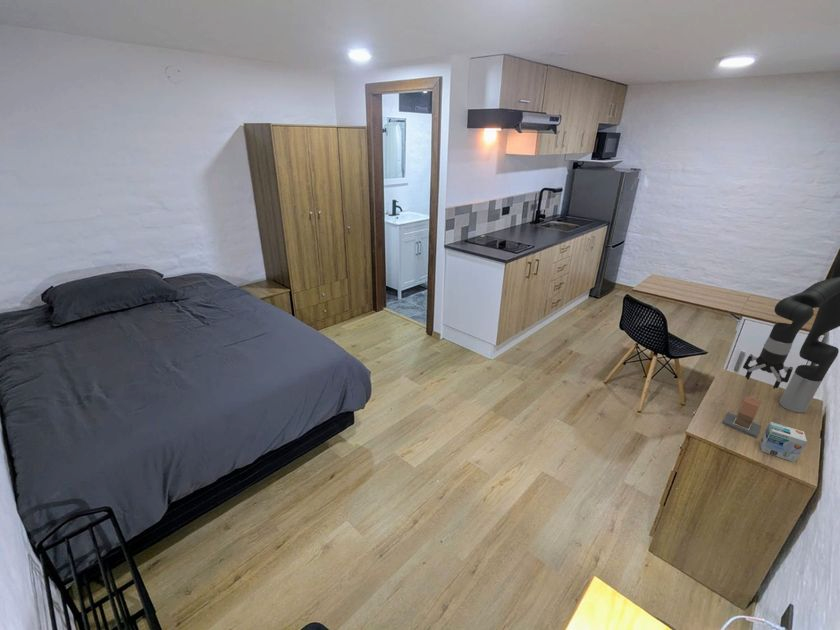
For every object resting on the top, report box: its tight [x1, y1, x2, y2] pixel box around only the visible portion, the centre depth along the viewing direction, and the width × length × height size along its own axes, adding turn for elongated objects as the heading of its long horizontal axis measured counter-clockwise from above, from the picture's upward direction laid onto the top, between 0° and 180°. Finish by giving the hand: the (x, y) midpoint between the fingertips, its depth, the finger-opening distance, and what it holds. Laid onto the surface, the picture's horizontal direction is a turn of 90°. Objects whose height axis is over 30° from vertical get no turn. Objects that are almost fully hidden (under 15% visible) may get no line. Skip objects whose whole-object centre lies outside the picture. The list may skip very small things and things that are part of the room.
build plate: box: [721, 412, 763, 439], centre depth 170 cm, size 9×12×1 cm
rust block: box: [738, 395, 762, 419], centre depth 165 cm, size 5×5×6 cm
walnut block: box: [734, 412, 757, 429], centre depth 168 cm, size 5×5×6 cm
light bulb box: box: [759, 421, 808, 463], centre depth 154 cm, size 11×7×11 cm, turn 56°
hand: (760, 383), depth 160 cm, fingers open, 8 cm apart
